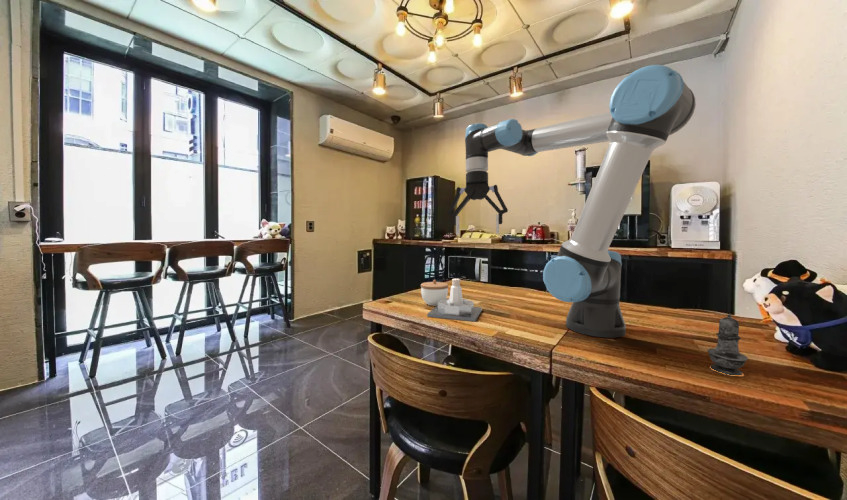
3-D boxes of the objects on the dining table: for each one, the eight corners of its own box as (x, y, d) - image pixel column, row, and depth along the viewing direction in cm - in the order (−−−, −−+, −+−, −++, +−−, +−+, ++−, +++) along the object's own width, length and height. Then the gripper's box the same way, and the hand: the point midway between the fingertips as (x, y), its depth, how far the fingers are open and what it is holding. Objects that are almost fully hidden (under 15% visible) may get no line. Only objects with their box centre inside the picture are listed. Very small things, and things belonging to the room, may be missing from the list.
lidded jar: (452, 302, 120) (453, 279, 120) (439, 308, 111) (439, 283, 111) (429, 299, 126) (429, 277, 126) (415, 304, 117) (415, 280, 117)
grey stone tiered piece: (725, 364, 65) (728, 309, 64) (755, 377, 59) (760, 317, 59) (698, 365, 65) (701, 309, 64) (726, 378, 59) (730, 317, 58)
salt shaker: (459, 313, 101) (459, 280, 100) (445, 311, 104) (445, 279, 103) (466, 310, 105) (466, 278, 105) (452, 307, 109) (453, 277, 108)
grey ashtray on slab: (481, 310, 109) (482, 297, 109) (475, 321, 96) (475, 306, 95) (438, 306, 114) (439, 294, 114) (427, 316, 101) (427, 302, 101)
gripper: (514, 171, 104) (515, 233, 105) (443, 176, 111) (444, 235, 112) (515, 166, 96) (515, 233, 97) (438, 172, 104) (439, 235, 104)
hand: (477, 234), depth 104 cm, fingers open, 13 cm apart
